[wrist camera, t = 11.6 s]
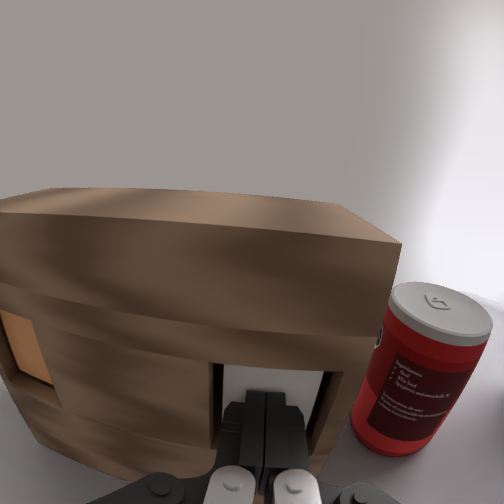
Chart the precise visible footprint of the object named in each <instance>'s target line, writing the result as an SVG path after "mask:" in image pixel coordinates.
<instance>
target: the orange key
mask: <svg viewBox="0 0 504 504" xmlns="http://www.w3.org/2000/svg"><path fill="white" fill-rule="evenodd" d="M0 315H1V318H2V322H3V325H4V328H5V331H6V334H7V337H8V340H9V343H10V346H11V349H12V351H13V354H14V357H15V359H16V362H17V364H18V367H19V369H20V370H22V371H24V372H26V373H28V374H30V375H32V376H34V377H36V378H39V379H41V380H43V381H45V382H48V383H50V384H52V385H53V383H52V381H51V378H50V376H49V373H48V370H47V368H46V365H45V362H44V359H43V357H42V354H41V351H40V348H39V345H38V341H37V338H36V335H35V332H34V328H33V325H32V321H31V320H28V319H26V318H23V317H20V316H17V315H15V314H12V313H9V312H7V311H4V310H1V309H0Z"/></svg>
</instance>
